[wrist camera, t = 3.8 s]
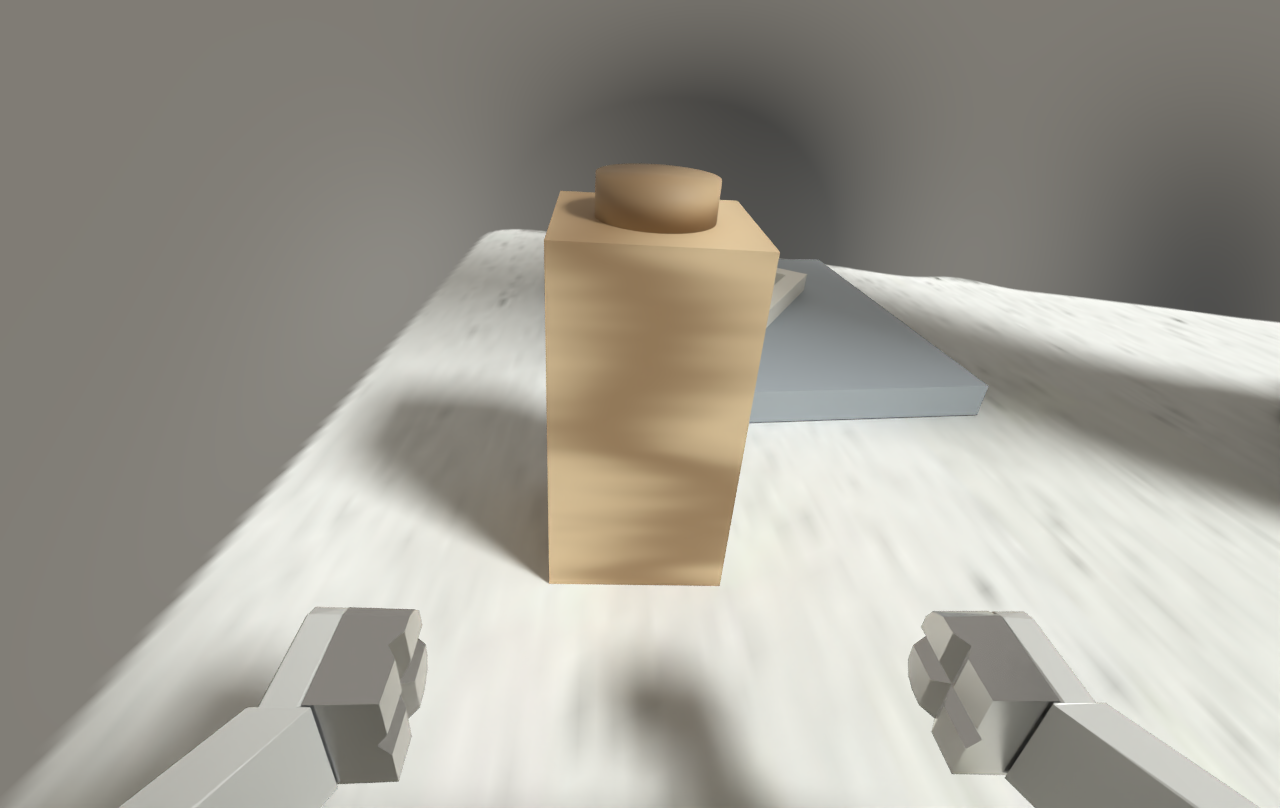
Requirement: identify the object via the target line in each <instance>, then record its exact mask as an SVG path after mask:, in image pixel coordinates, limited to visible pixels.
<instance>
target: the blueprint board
mask: <svg viewBox="0 0 1280 808" xmlns="http://www.w3.org/2000/svg"><path fill="white" fill-rule="evenodd" d="M777 268H780V269H785V270H790V271H794V272H799V273H804V274H807V277H806V282H805V287H804V291H803V292H802V293H801V294H800V295H799V296H798V297H797V298H796V299H795V300H794V301H793V302H792V303H791V304H790V305H789V306H788V307H787V308H786V309H785V310H784V311H783V312H782V313H781V314H780V315H779V316H778V317H777V318H776V319H775V320H774V321H773V322H772V323H771V324H770V325H769V326H768V327H767V328H766V332H765V337H764V343H763V348H762V354H761V359H760V365H759V370H758V376H757V381H756V387H755V392H754V398H753V403H752V409H751V414H750V420H749V423H750V422H779V421H808V420H837V419H865V418H894V417H923V416H952V415H977V414H978V411H979V409H980V406H981V404H982V401H983V399H984V396H985V394H986V391H987V389H988V385H986V384H985V383H984V382H982V381H981V380H980V379H978V378H977V377H976V376H974V375H973V374H972V373H970V372H969V371H968V370H966V369H965V368H964V367H962V366H961V365H960V364H958V363H957V362H955V361H954V360H953V359H951V358H950V357H949V356H947V355H946V354H945V353H943V352H942V351H941V350H939V349H938V348H937V347H935V346H934V345H933V344H931V343H930V342H929V341H927V340H926V339H925V338H923V337H922V336H920V335H919V334H918V333H916V332H915V331H914V330H912V329H911V328H910V327H908V326H907V325H906V324H904V323H903V322H902V321H900V320H899V319H898V318H896V317H895V316H894V315H892V314H891V313H889V312H888V311H887V310H885V309H884V308H883V307H881V306H880V305H879V304H877V303H876V302H875V301H873V300H872V299H871V298H869V297H868V296H867V295H865V294H864V293H863V292H861V291H860V290H858V289H857V288H856V287H854V286H853V285H852V284H850V283H849V282H848V281H846V280H845V279H844V278H842V277H841V276H840V275H838V274H837V273H836V272H834V271H833V270H832V269H830V268H829V267H827V266H826V265H825V264H823V263H822V262H821V261H819V260H809V259H779V260H778V265H777Z"/></svg>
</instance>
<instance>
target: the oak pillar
mask: <svg viewBox="0 0 1280 808" xmlns="http://www.w3.org/2000/svg"><path fill="white" fill-rule="evenodd" d="M595 184H596V185H595V193H589V192H570V191H560V194H559V197H558V200H557V203H556V206H555V209H554V212H553V215H552V218H551V221H550V224H549V227H548V230H547V233H546V236H545V239H544V269H545V335H546V401H547V467H548V534H549V584H618V585H699V586H720V580H721V575H722V569H723V564H724V558H725V552H726V547H727V541H728V536H729V530H730V525H731V519H732V514H733V508H734V503H735V497H736V492H737V486H738V481H739V475H740V470H741V464H742V459H743V453H744V448H745V442H746V437H747V431H748V425H749V420H750V414H751V409H752V403H753V398H754V392H755V387H756V381H757V376H758V370H759V365H760V359H761V354H762V348H763V343H764V337H765V332H766V326H767V321H768V315H769V310H770V304H771V298H772V293H773V287H774V282H775V276H776V271H777V265H778V260H779V254H780V252H779V251H778V249H777V248H776V247H775V246H774V245H773V243H772V242H771V241H770V240H769V239H768V237H767V236H766V235H765V234H764V232H763V231H762V230H761V229H760V228H759V226H758V225H757V224H756V223H755V222H754V220H753V219H752V218H751V217H750V216H749V214H748V213H747V212H746V211H745V210H744V208H743V207H742V206H741V205H740V203H739V202H738V201H729V200H720V192H721V184H722V179H721V178H720V177H719V176H717V175H714V174H712V173H709V172H705V171H701V170H696V169H692V168H685V167H678V166H670V165H658V164H615V165H608V166H603V167H600V168H598V169H597V170H596V183H595Z"/></svg>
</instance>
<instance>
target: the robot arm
mask: <svg viewBox="0 0 1280 808" xmlns="http://www.w3.org/2000/svg"><path fill="white" fill-rule="evenodd" d="M421 628H422V621H421V617H420V612H419V610H415V609H383V608H352V607H350V608H342V607H315V608H314V609H313V610H312V611H311V612H310V613H309V614H308V615H307V616H306V617H305V619H304V621H303V623H302V625H301V627H300V629H299V630H298V632H297V634H296V636H295V638H294V640H293V642H292V644H291V646H290V647H289V649H288V651H287V653H286V655H285V657H284V659H283V661H282V662H281V664H280V666H279V668H278V670H277V672H276V674H275V676H274V678H273V679H272V681H271V683H270V685H269V687H268V689H267V691H266V693H265V695H264V696H263V698H262V700H261V702H260V704H259V706H258V707H247V708H245V709H244V710H243V711H242V712H240V713H239V714H238V715H236V716H235V717H234V718H233V719H231V720H230V721H229V722H227V723H226V724H225V725H224V726H222V727H221V728H220V729H218V730H217V731H216V732H215V733H213V734H212V735H211V736H209V737H208V738H207V739H206V740H204V741H203V742H202V743H201V744H199V745H198V746H197V747H195V748H194V749H193V750H192V751H190V752H189V753H188V754H186V755H185V756H184V757H183V758H181V759H180V760H179V761H177V762H176V763H175V764H174V765H172V766H171V767H170V768H168V769H167V770H166V771H165V772H163V773H162V774H161V775H159V776H158V777H157V778H156V779H154V780H153V781H152V782H150V783H149V784H148V785H147V786H145V787H144V788H143V789H141V790H140V791H139V792H138V793H136V794H135V795H134V796H133V797H131V798H130V799H129V800H127V801H126V802H125V803H124V804H122V805H121V806H120V807H118V808H321V807H322V806H323V805H324V803H325V802H326V801H327V800H328V799H329V798H330V797H331V795H332V794H333V793H334V792H335V791H336V790H337V789H338V786H337V784H354V783H378V782H399V779H400V775H401V772H402V768H403V765H404V761H405V758H406V754H407V751H408V747H409V744H410V740H411V737H412V735H411V730H410V725H409V720H408V719H409V718H410V717H411V716H412V715H413V714H414V713H415V712H416V711H417V710H418V709H419V708H420V705H421V701H422V698H423V694H424V690H425V684H426V676H427V669H428V668H427V649H426V644H425V643H423V642H422V641H421V640H420V639H419V638H418V637H419V634H420V631H421ZM921 628H922V630H923V631H924V633H925V635H926V636H925V637H924V638H923V639H921V640H920V641H918V642H917V643H916V644H914V645H913V647H912V650H911V652H910V655H909V658H908V676H909V680H910V684H911V688H912V691H913V693H914V695H915V698H916V700H917V702H918V704H919V705H920V706H921V707H922V708H923V709H924V710H925V711H927V712H928V713H929V714H930V715H931V716H932V717H934V723H933V727H932V734H933V736H934V738H935V740H936V742H937V744H938V746H939V749H940V751H941V753H942V755H943V757H944V759H945V761H946V763H947V765H948V767H949V769H950V772H951V774H978V775H1006V777H1005V779H1006V780H1007V781H1008V782H1009V783H1010V784H1011V785H1012V786H1013V787H1014V788H1015V789H1016V790H1017V791H1018V792H1019V793H1020V794H1021V795H1022V796H1023V797H1025V798H1026V799H1027V800H1028V801H1029V802H1030V803H1031V804H1032V805H1033V806H1034V807H1035V808H1260V807H1259V806H1257V805H1256V804H1254V803H1253V802H1251V801H1250V800H1248V799H1247V798H1245V797H1244V796H1242V795H1241V794H1239V793H1238V792H1236V791H1235V790H1233V789H1232V788H1230V787H1229V786H1228V785H1226V784H1225V783H1223V782H1222V781H1220V780H1219V779H1217V778H1216V777H1214V776H1213V775H1211V774H1210V773H1208V772H1207V771H1205V770H1204V769H1202V768H1201V767H1200V766H1198V765H1197V764H1195V763H1194V762H1192V761H1191V760H1189V759H1188V758H1186V757H1185V756H1183V755H1182V754H1180V753H1179V752H1177V751H1176V750H1174V749H1173V748H1171V747H1170V746H1169V745H1167V744H1166V743H1164V742H1163V741H1161V740H1160V739H1158V738H1157V737H1155V736H1154V735H1152V734H1151V733H1149V732H1148V731H1146V730H1145V729H1143V728H1142V727H1141V726H1139V725H1138V724H1136V723H1135V722H1133V721H1132V720H1130V719H1129V718H1127V717H1126V716H1124V715H1123V714H1121V713H1120V712H1118V711H1117V710H1115V709H1114V708H1113V707H1111V706H1110V705H1108V704H1107V703H1096V702H1095V700H1094V699H1093V698H1092V696H1091V695H1090V694H1089V692H1088V691H1087V690H1086V688H1085V687H1084V686H1083V684H1082V683H1081V682H1080V680H1079V679H1078V678H1077V676H1076V675H1075V674H1074V672H1073V671H1072V670H1071V668H1070V667H1069V666H1068V664H1067V663H1066V662H1065V660H1064V659H1063V658H1062V656H1061V655H1060V654H1059V652H1058V651H1057V650H1056V648H1055V647H1054V646H1053V644H1052V643H1051V642H1050V640H1049V639H1048V637H1047V636H1046V635H1045V633H1044V632H1043V631H1042V629H1041V628H1040V627H1039V625H1038V624H1037V623H1036V621H1035V620H1034V619H1033V618H1032V617H1031V616H1029V615H1028V614H1027V613H1025V612H989V611H933V612H931V613H930V614H928V615H927V616H926V617H925V619H924V622H923V624H922V626H921Z"/></svg>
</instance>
